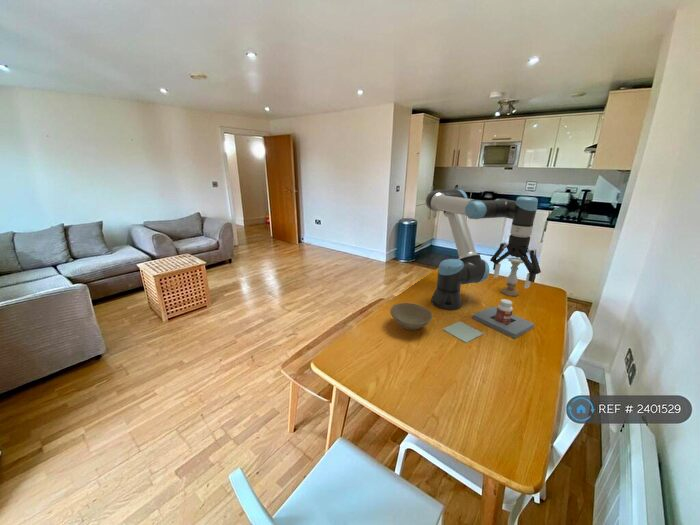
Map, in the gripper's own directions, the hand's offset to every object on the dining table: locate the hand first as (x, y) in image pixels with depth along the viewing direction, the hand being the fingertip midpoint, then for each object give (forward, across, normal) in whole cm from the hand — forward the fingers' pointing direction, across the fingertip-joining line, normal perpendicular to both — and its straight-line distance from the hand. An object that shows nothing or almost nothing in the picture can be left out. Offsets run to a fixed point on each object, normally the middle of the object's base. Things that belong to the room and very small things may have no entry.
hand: (510, 282), depth 122 cm
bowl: (+21, -20, -39) cm, 49 cm away
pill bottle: (+21, 0, 0) cm, 21 cm away
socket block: (+20, 0, 0) cm, 20 cm away
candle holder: (+21, -16, +35) cm, 44 cm away
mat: (+20, -5, -22) cm, 30 cm away
